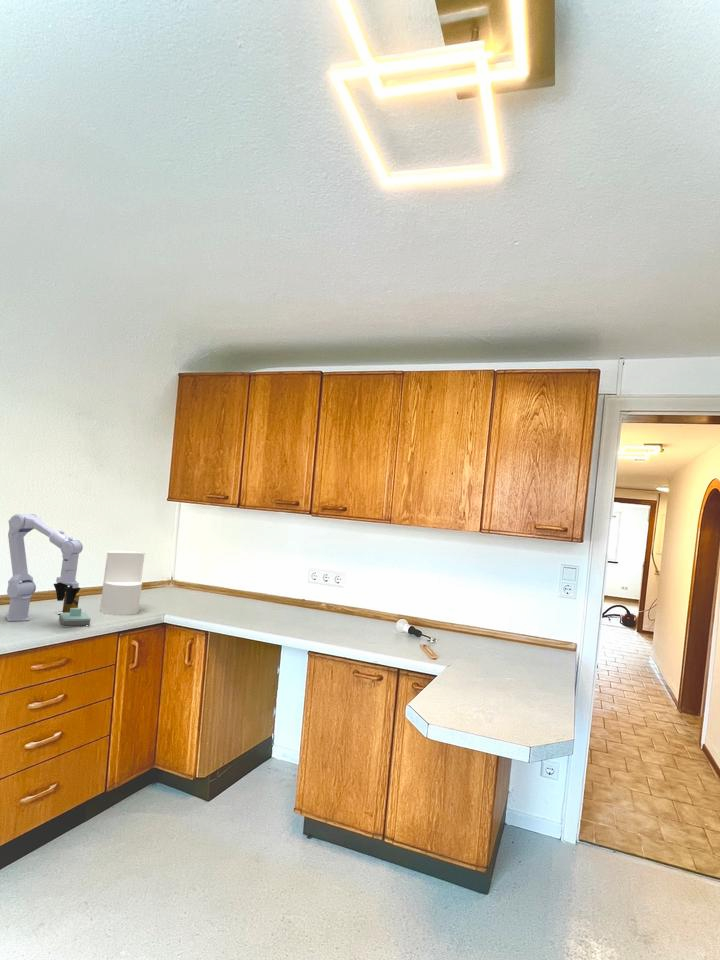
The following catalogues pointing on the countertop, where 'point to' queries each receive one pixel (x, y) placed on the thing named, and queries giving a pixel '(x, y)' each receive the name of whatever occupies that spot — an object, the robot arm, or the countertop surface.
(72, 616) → the lid
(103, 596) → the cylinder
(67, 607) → the condiment
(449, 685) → the countertop surface
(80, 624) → the grey tray
